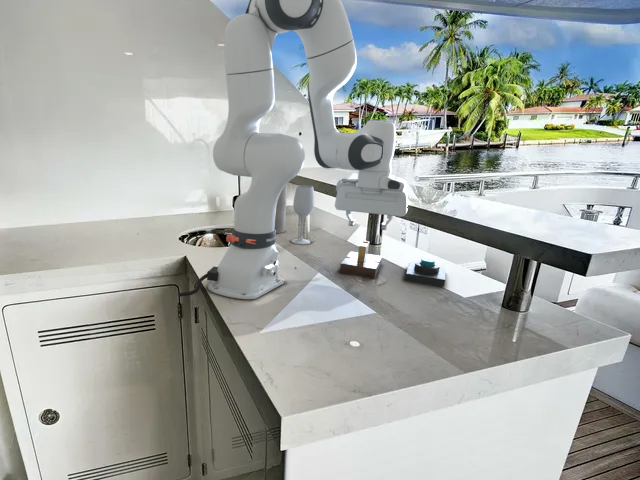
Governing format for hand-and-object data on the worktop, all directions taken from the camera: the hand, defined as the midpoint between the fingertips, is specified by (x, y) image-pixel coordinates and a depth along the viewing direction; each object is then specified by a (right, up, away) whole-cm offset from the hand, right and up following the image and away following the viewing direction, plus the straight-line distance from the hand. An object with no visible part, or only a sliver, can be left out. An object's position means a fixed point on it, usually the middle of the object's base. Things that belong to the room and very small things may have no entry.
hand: (367, 227), depth 113 cm
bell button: (+16, -11, -3) cm, 20 cm away
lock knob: (-1, -9, +3) cm, 10 cm away
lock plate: (-1, -12, +4) cm, 13 cm away
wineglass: (-15, -2, +32) cm, 35 cm away
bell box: (+16, -15, -2) cm, 22 cm away
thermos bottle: (-23, +3, +48) cm, 53 cm away
